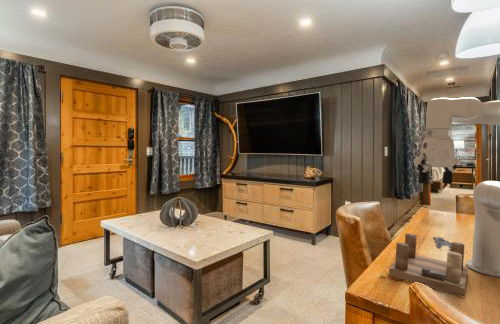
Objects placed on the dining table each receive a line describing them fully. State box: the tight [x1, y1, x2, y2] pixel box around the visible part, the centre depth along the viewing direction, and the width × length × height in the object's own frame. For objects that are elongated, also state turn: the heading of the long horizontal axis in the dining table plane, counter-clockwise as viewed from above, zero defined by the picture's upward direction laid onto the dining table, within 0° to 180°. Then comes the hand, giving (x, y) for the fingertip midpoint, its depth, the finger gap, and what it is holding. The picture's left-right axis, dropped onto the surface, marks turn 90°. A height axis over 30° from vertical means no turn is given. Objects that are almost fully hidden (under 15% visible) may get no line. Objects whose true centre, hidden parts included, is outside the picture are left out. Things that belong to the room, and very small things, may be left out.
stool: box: [388, 232, 469, 297], centre depth 95 cm, size 20×20×10 cm
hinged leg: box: [422, 251, 462, 283], centre depth 87 cm, size 10×4×8 cm, turn 54°
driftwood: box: [433, 236, 451, 252], centre depth 126 cm, size 21×7×2 cm, turn 151°
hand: (435, 183), depth 99 cm, fingers open, 9 cm apart
